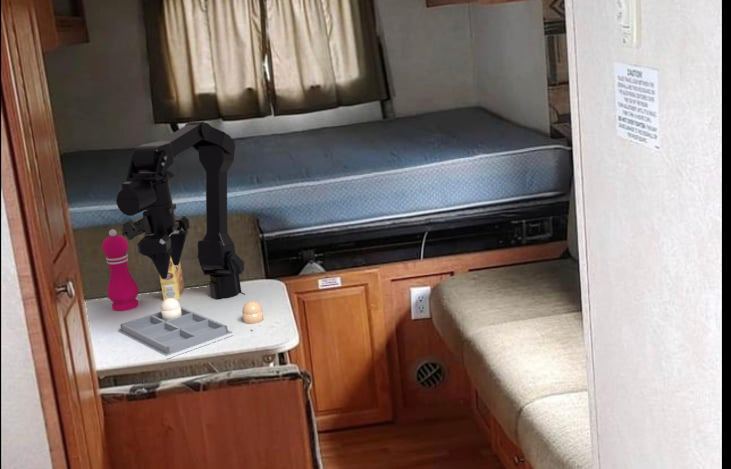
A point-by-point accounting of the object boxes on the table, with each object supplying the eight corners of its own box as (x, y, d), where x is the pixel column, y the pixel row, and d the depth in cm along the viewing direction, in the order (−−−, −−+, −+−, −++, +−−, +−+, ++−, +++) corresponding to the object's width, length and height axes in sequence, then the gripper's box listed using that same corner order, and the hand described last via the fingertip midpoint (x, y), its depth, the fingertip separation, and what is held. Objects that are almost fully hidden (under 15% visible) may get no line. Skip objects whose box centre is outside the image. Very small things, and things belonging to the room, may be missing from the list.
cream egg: (176, 315, 219) (173, 293, 218) (186, 319, 216) (182, 297, 215) (159, 320, 217) (155, 299, 215) (168, 325, 214) (165, 303, 212)
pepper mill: (133, 314, 226) (119, 233, 220) (105, 315, 227) (90, 234, 222) (146, 303, 232) (132, 224, 227) (118, 304, 234) (105, 226, 229)
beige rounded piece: (256, 318, 214) (254, 297, 213) (267, 323, 211) (264, 300, 210) (240, 324, 212) (237, 302, 210) (251, 329, 208) (248, 306, 207)
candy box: (180, 302, 231) (170, 241, 227) (163, 304, 231) (153, 243, 227) (185, 290, 240) (176, 231, 236) (168, 292, 240) (159, 233, 235)
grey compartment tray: (181, 313, 223) (179, 304, 222) (233, 335, 205) (231, 325, 205) (117, 334, 213) (116, 324, 213) (166, 359, 196) (164, 349, 195)
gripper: (136, 195, 215) (148, 260, 219) (107, 217, 197) (120, 288, 201) (184, 191, 214) (195, 257, 218) (159, 213, 196) (172, 285, 200)
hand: (170, 271), depth 209 cm, fingers open, 9 cm apart
